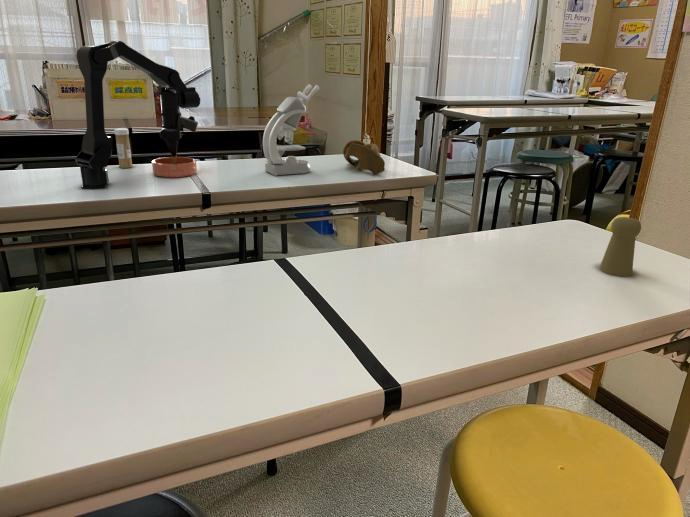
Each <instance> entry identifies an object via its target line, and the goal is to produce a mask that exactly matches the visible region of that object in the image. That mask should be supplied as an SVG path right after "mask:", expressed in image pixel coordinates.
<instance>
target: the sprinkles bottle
mask: <svg viewBox="0 0 690 517" xmlns="http://www.w3.org/2000/svg"><path fill="white" fill-rule="evenodd" d="M129 134H130V132H129V128H125V127H119V128H114V136H115V143H116V152H117V159H118V167H119V168H121V169H129V168H132V167H133V165H134V164H133V160H132V151H131V144H130V137H129Z"/></svg>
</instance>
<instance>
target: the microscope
mask: <svg viewBox="0 0 690 517" xmlns="http://www.w3.org/2000/svg"><path fill="white" fill-rule="evenodd" d="M320 89H321V87H320V86H319V85H318V84H315V86H314V87H313V85H311V84H310V83H309V84H307V85H306V86H305V88H304V89H303V90H302V92H301V91H300V90H299V91H298V92H297V93H296V97H294V96H287V97H286V98H285V99H284V100H283V101H282V102H281V104H280V105H279V106H278V107H277V108H276V111H277V112H275V114H273V116H272V117H271V118H270V120H269V121H268V123H266V127H265V128H264V132H263V134H262V135H263V136H262V150H263V155H264V158H265V159H266V161H265V162H264V170H265V172H266V173H269V174H271V175H273V176H274V177H277V176H283V175H296V174H302V175H305V174H307V173H309V172H311V165H310V164H309V161H308V160H305V159H298V158H297V157H296V156H295V155H288V156H286V158H285V159H282V157H283V155H284V153H285V152H286V151H287V152H293V151H301V150H306V147H305V146H302V145H300V144H293V143H294V132H295V131H296V130H297V128H298V126H299V123H300V121H301V118H302V116H303V113H306V112H307V107H306V105H305V103H304V101H305V102H306V103H308V102H310V99H312V97H313V96H314V95H315V94H317V92H319V90H320ZM309 92H310V93H309ZM308 93H309V94H308ZM306 94H308V95H306ZM283 138H284V142H285V143H288V145H287V144H285V145H281V144H277V141H278V140H279V141H280V140H282V139H283ZM277 139H278V140H277Z"/></svg>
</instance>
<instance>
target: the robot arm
mask: <svg viewBox="0 0 690 517" xmlns="http://www.w3.org/2000/svg"><path fill="white" fill-rule="evenodd" d="M118 58H119V59H121V60H122V61H124V62H126V63H128V64H129V65H131V66H132V67H135V68H136V69H137V70H139V71H141V72H143V73H145V74H146V75H148V76H149V78H150V79H151V80H152V81H153V82H154V83H155V84H156V85H157V86H158V87H157V89H156V90H155V91H154V92H153V95H156V96H159V97H160V107H161V112H160V116H161V119H162V125H161V128H162V129H160V131H159V138H160V139H163V141H164V143H165V145H166V147H167V148H168V151H169V152H170V155H171V157H172V156H173V157H177V154H178V146H179V141H180V140H181V139H182V137H183V135H184V134H183V133H184V132H185V129H186V130H188V131H190V132H192V133H196V131H197V128H198V125H199V122H198V121H197V120H196V118H195V116H192V115H189V116H188V117H185V116H182V112H181V110H180V108H181V109H194V108H198V107H199V106H200V105H201V97H200V94H199V93H198V91H197V90H196V86H195V87H194V86H188V87H187V86H186V84H185V83H184V81H183V79H182V78H181V75H180V73H179V71H178V70H177V69H174V68H172V67H169V66H167V65H163V64H159V63H157V62H155V61H154V60H151V59H150V58H149V57H147V56H145V55H144V54H142V53H141V52H140V51H139V52H138V51H137V50H136V49H134V48H132V47H131V46H129V45H127V43H125V42H124V41H122V40H111V41H108V42H106V43H103V44H99V45H82V46H80V47H79V48H78V49H77V51H76V61H77V65H78V69H79V71H80V73H81V75H82V77H83V81H84V82H83V83H84V99H85V117H86V118H85V120H86V121H85V122H86V130H85V133H84V135H83V137H82V144H81V150H80V151H79V153H78V154H77V155H76V156H75V158H74V161H75V162H76V164H77V166H80V167H79V170H80V175H81V176H80V177H81V183H82V186H81V189H106V187H107V186H108V185H109V184H110V179H109V172H108V170H107V169H106V168H107V167H108V164H109V161H110V158H111V157H112V153H113V152H115V151H114V145H113V144H114V139H113V136H109V135H108V134H107V133H106V128H105V106H104V104H105V103H104V83H103V82H104V78H105V75H106V73H107V70H108V65H109V64H108V63H109V62H112V61H114V60H117V59H118Z"/></svg>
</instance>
